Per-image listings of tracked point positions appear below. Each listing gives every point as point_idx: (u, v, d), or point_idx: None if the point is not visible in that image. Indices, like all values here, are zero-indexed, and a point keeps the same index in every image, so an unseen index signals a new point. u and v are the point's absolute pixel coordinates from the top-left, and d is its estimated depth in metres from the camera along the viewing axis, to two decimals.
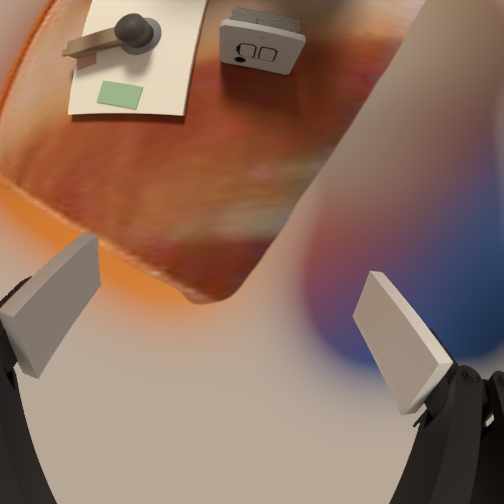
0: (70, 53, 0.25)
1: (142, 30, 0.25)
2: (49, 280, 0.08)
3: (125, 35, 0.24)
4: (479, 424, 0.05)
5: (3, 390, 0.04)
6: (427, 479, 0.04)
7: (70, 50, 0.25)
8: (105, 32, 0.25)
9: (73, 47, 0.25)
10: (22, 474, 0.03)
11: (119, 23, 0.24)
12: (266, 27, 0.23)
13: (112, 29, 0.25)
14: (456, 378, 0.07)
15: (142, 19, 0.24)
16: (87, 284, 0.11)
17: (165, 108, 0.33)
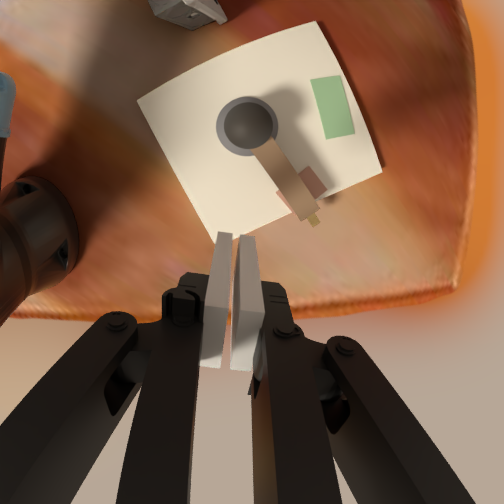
0: (315, 204, 0.26)
1: (245, 102, 0.21)
2: None
3: (263, 120, 0.22)
4: (314, 386, 0.06)
5: (195, 398, 0.06)
6: (269, 470, 0.05)
7: (311, 207, 0.26)
8: (268, 163, 0.25)
9: (306, 204, 0.26)
10: (188, 491, 0.04)
11: (249, 144, 0.23)
12: None
13: (259, 156, 0.24)
14: (265, 339, 0.08)
15: (229, 113, 0.21)
16: None
17: (318, 41, 0.23)
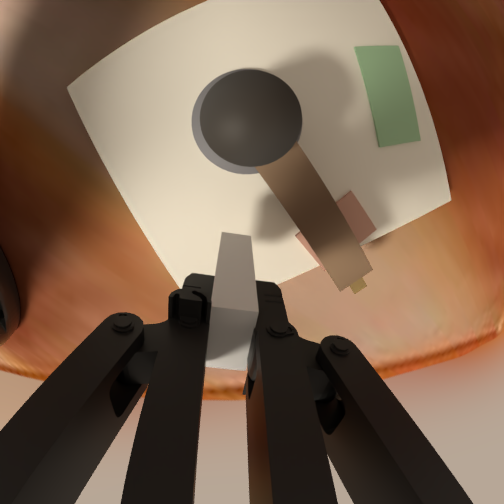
0: (366, 262, 0.15)
1: (244, 71, 0.10)
2: (235, 275, 0.11)
3: (283, 107, 0.10)
4: (308, 386, 0.06)
5: (201, 399, 0.06)
6: (263, 471, 0.05)
7: (359, 268, 0.15)
8: (289, 193, 0.13)
9: (351, 264, 0.15)
10: (193, 492, 0.04)
11: (253, 156, 0.11)
12: None
13: (273, 180, 0.13)
14: (259, 338, 0.08)
15: (212, 92, 0.10)
16: None
17: None
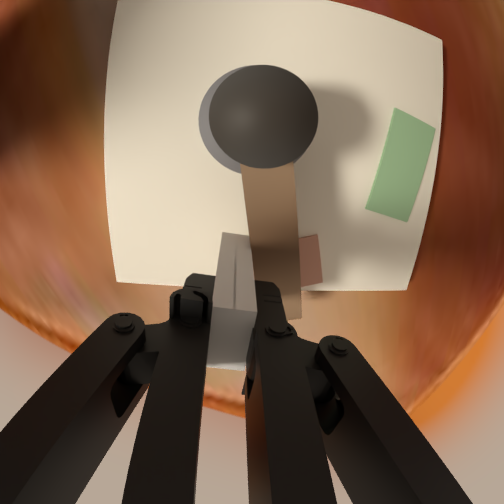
0: (298, 308, 0.15)
1: (283, 70, 0.09)
2: (236, 275, 0.11)
3: (300, 122, 0.10)
4: (307, 386, 0.06)
5: (202, 400, 0.06)
6: (262, 471, 0.05)
7: (289, 310, 0.15)
8: (259, 207, 0.12)
9: (283, 303, 0.14)
10: (194, 492, 0.04)
11: (245, 153, 0.10)
12: None
13: (250, 186, 0.12)
14: (258, 338, 0.08)
15: (241, 72, 0.09)
16: None
17: (433, 66, 0.12)
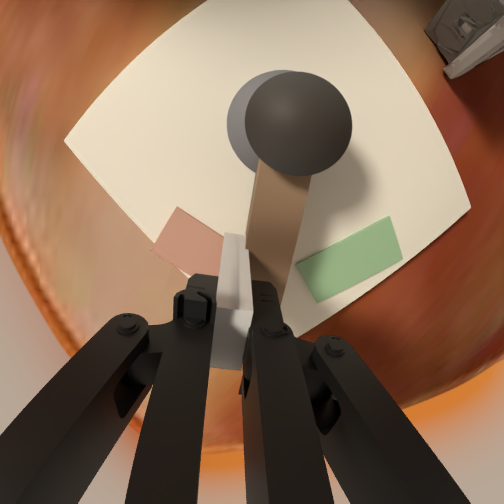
0: None
1: (330, 86, 0.09)
2: (238, 275, 0.11)
3: (331, 140, 0.10)
4: (304, 386, 0.06)
5: None
6: (260, 471, 0.05)
7: None
8: (266, 209, 0.12)
9: None
10: (197, 492, 0.04)
11: (271, 153, 0.10)
12: None
13: (264, 186, 0.12)
14: (254, 338, 0.08)
15: (291, 75, 0.09)
16: None
17: (445, 217, 0.16)
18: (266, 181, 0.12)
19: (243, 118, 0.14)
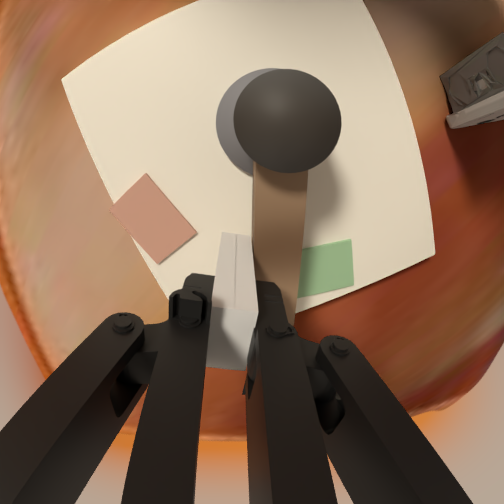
0: (292, 315, 0.15)
1: (313, 78, 0.09)
2: (235, 275, 0.11)
3: (322, 132, 0.10)
4: (308, 386, 0.06)
5: (201, 399, 0.06)
6: (263, 471, 0.05)
7: None
8: (268, 210, 0.12)
9: None
10: None
11: (265, 154, 0.10)
12: None
13: (262, 188, 0.12)
14: (259, 338, 0.08)
15: (273, 74, 0.09)
16: None
17: (407, 256, 0.17)
18: (264, 182, 0.12)
19: None
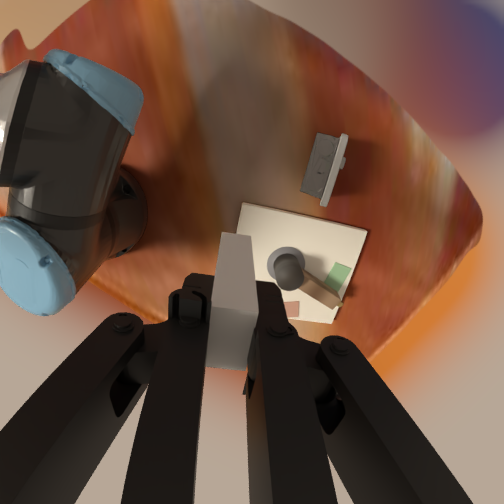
0: (338, 298, 0.44)
1: (284, 266, 0.40)
2: (235, 275, 0.11)
3: (297, 273, 0.40)
4: (308, 386, 0.06)
5: (201, 399, 0.06)
6: (263, 471, 0.05)
7: (336, 301, 0.44)
8: (306, 289, 0.43)
9: (333, 301, 0.44)
10: (193, 492, 0.04)
11: (293, 287, 0.41)
12: (333, 168, 0.32)
13: (300, 287, 0.43)
14: (259, 338, 0.08)
15: (277, 275, 0.41)
16: None
17: (358, 244, 0.44)
18: (299, 286, 0.43)
19: None
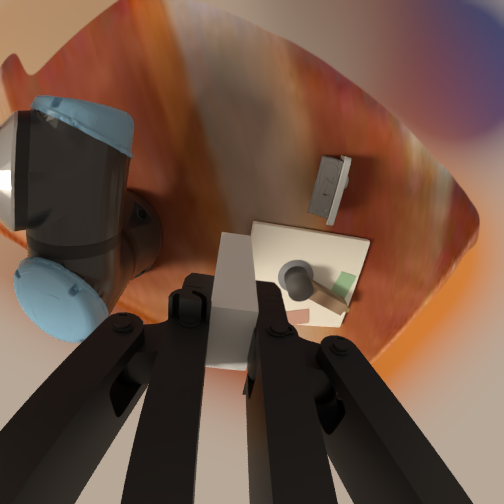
0: (345, 305, 0.47)
1: (295, 279, 0.43)
2: (235, 275, 0.11)
3: (307, 285, 0.43)
4: (308, 386, 0.06)
5: None
6: (263, 471, 0.05)
7: (343, 307, 0.47)
8: (315, 298, 0.46)
9: (340, 307, 0.47)
10: (193, 492, 0.04)
11: (304, 298, 0.44)
12: (338, 190, 0.35)
13: (310, 297, 0.46)
14: (259, 338, 0.08)
15: (289, 288, 0.44)
16: None
17: (361, 254, 0.47)
18: None
19: (284, 283, 0.48)
